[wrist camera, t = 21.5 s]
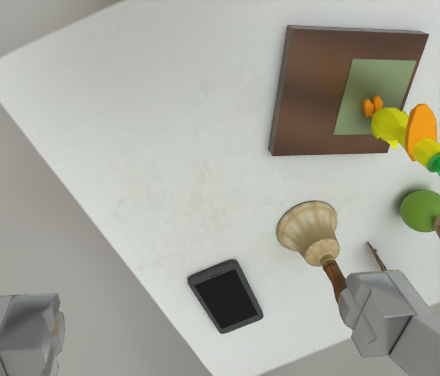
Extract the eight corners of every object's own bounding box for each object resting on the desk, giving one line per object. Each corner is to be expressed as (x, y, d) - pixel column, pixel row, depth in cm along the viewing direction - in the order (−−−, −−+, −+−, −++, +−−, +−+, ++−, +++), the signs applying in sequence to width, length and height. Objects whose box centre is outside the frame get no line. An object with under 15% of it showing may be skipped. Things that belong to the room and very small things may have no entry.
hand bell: (341, 234, 51) (411, 334, 38) (286, 258, 52) (335, 364, 39) (329, 190, 47) (403, 287, 34) (268, 217, 47) (318, 323, 34)
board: (287, 25, 35) (293, 28, 33) (419, 31, 37) (430, 34, 36) (268, 149, 42) (272, 156, 40) (380, 147, 44) (388, 153, 43)
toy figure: (352, 81, 37) (429, 132, 27) (386, 67, 37) (475, 114, 27) (358, 137, 41) (427, 199, 31) (389, 125, 41) (468, 184, 31)
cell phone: (220, 331, 58) (221, 335, 58) (185, 277, 50) (186, 281, 50) (263, 314, 58) (265, 318, 57) (235, 257, 50) (237, 261, 49)
